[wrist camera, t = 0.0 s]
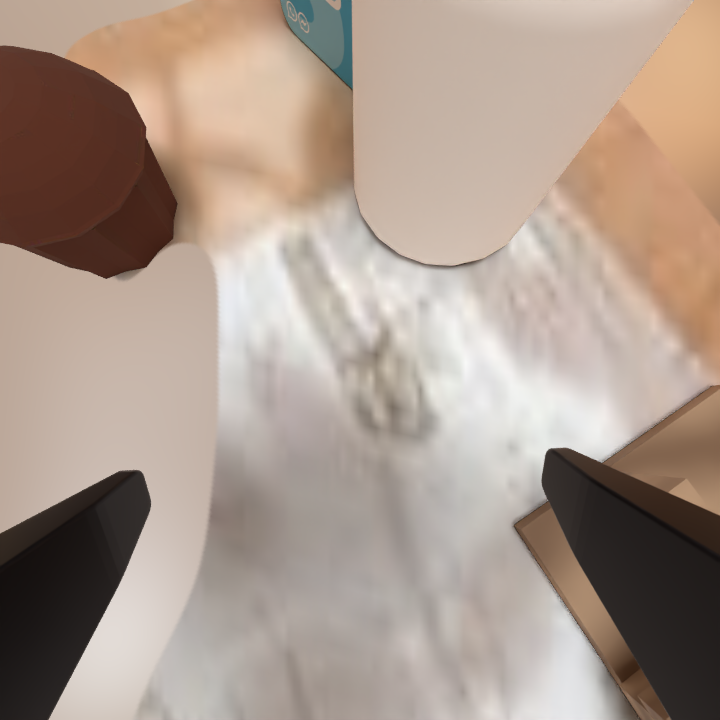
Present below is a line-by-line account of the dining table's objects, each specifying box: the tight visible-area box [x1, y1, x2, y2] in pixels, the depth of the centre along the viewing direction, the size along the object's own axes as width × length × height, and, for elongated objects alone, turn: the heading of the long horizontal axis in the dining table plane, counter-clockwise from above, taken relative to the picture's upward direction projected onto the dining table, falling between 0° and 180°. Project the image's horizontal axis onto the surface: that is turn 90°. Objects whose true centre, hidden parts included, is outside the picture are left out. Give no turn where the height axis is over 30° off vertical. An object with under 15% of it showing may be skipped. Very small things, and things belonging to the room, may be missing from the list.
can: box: [352, 0, 694, 266], centre depth 17 cm, size 12×12×20 cm
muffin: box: [0, 46, 177, 279], centre depth 21 cm, size 12×11×10 cm
